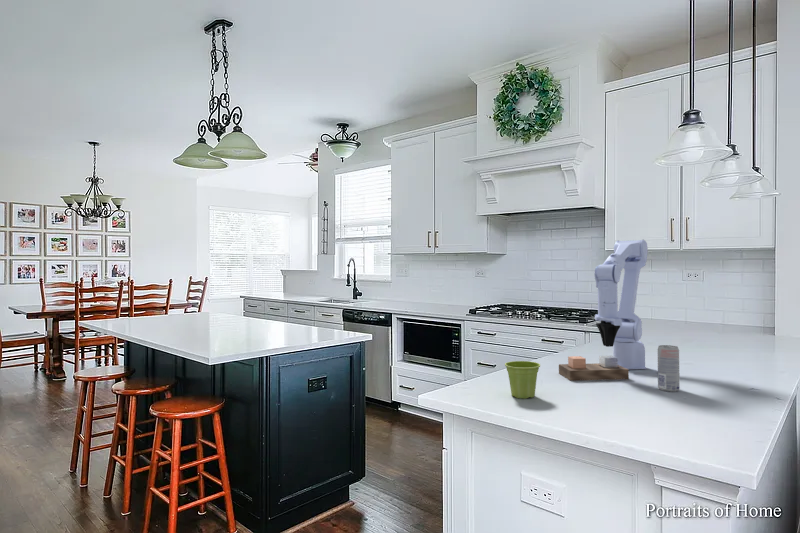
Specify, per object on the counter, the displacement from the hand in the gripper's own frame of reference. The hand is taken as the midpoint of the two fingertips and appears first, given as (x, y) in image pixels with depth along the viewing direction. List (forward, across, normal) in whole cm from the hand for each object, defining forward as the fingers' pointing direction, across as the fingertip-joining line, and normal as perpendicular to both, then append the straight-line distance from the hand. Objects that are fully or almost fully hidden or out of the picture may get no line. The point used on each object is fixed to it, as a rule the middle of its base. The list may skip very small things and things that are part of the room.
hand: (608, 346), depth 162 cm
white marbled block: (+6, 0, 0) cm, 6 cm away
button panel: (+9, 0, -5) cm, 11 cm away
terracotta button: (+6, 0, -10) cm, 12 cm away
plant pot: (+10, +21, -33) cm, 40 cm away
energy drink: (+10, +18, +9) cm, 22 cm away
